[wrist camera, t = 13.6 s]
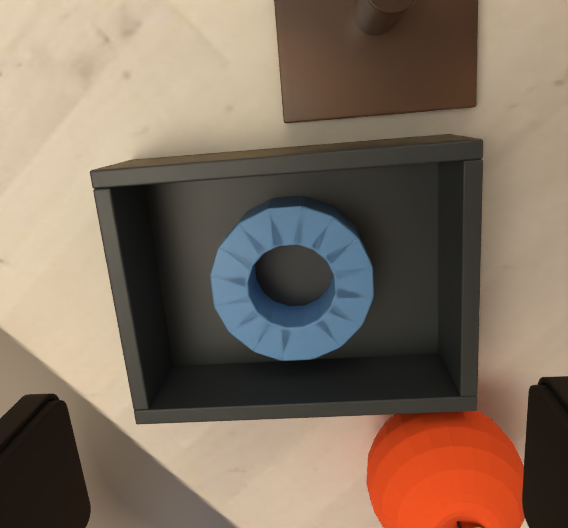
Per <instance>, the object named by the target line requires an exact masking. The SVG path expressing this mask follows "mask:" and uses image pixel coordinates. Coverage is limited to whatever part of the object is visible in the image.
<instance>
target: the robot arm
mask: <svg viewBox="0 0 568 528" xmlns="http://www.w3.org/2000/svg"><path fill="white" fill-rule="evenodd" d="M522 507H523V512H524V516H525V519H526V522H527V524H528V526H529V528H568V376H564V377H542V378H541V379H540V380H539V382H538V385H532V386H530V389H529V396H528V412H527V427H526V443H525V458H524V474H523V490H522ZM90 509H91V508H90V501H89V497H88V492H87V488H86V484H85V480H84V475H83V472H82V467H81V463H80V459H79V454H78V450H77V446H76V442H75V437H74V433H73V429H72V425H71V420H70V416H69V412H68V408H67V405H66V403H65V402H64V401H62V400H59V398H58V397H57V395H55V394H29V395H25V396H23V397H22V398H21V399H20V400H19V401H18V402H17V403H16V404H15V405H14V406H13V407H12V408H11V409H10V410H9V411H8V412H7V413H6V414H5V415H3V416H2V417H1V419H0V528H85V527H86V526H87V524H88V521H89V518H90V512H91V511H90Z"/></svg>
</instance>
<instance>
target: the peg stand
mask: <svg viewBox="0 0 568 528" xmlns="http://www.w3.org/2000/svg"><path fill="white" fill-rule="evenodd" d="M274 4H275V16H276V29H277V41H278V54H279V67H280V79H281V92H282V104H283V117H284V123H293V122H305V121H317V120H328V119H340V118H352V117H364V116H376V115H388V114H399V113H411V112H423V111H435V110H447V109H458V108H470V107H476V84H477V33H478V0H274Z"/></svg>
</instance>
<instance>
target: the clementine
mask: <svg viewBox="0 0 568 528" xmlns="http://www.w3.org/2000/svg"><path fill="white" fill-rule="evenodd" d="M523 474H524V466H523V464H522V461H521V458H520V456H519V454H518V452H517V450H516V448H515V446H514V444H513V442H512V441H511V440H510V439H509V438H508V437H507V435H506V434H505V433H504V432H503V431H502V430H501V429H500V428H499V427H498V426H497V425H496V424H495V422H494V421H493V420H492V419H490V418H489V417H487V416H485V415H484V414H482V413H480V412H479V411H462V412H436V413H411V414H395V415H394V416H392V417H391V418H390V419H389V420H388V421H387V422H386V423H385V425H384V426H383V427H382V428H381V430H380V431H379V433H378V434H377V436H376V438H375V440H374V442H373V444H372V447H371V449H370V452H369V455H368V467H367V487H368V491H369V496H370V500H371V503H372V506H373V509H374V512H375V514H376V516H377V517H378V519H379V521H380V522H381V524H382V526H383V527H384V528H520V527H521V525H522V523H523V521H524V519H525V516H524V512H523V507H522V490H523Z"/></svg>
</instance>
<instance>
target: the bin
mask: <svg viewBox="0 0 568 528" xmlns="http://www.w3.org/2000/svg"><path fill="white" fill-rule="evenodd" d="M482 158H483V140H482V139H476V138H470V137H464V136H458V135H453V134H446V135H433V136H421V137H408V138H396V139H384V140H371V141H359V142H347V143H334V144H322V145H309V146H297V147H285V148H272V149H260V150H248V151H235V152H223V153H211V154H198V155H186V156H173V157H161V158H149V159H136V160H129V161H125V162H121V163H118V164H114V165H110V166H106V167H102V168H98V169H95V170H91V171H90V176H91V181H92V186H93V188H94V191H93V192H94V197H95V203H96V208H97V214H98V219H99V224H100V230H101V235H102V241H103V246H104V251H105V257H106V262H107V268H108V273H109V278H110V284H111V289H112V295H113V300H114V305H115V311H116V316H117V322H118V327H119V333H120V338H121V343H122V349H123V354H124V360H125V365H126V370H127V376H128V381H129V387H130V392H131V397H132V403H133V408H134V415H135V420H136V424H156V423H182V422H207V421H232V420H258V419H283V418H309V417H334V416H360V415H385V414H411V413H436V412H462V411H477V388H478V346H479V304H480V262H481V221H482V179H483V160H482ZM294 196H303V197H308V198H311V199H314V200H317V201H320V202H323V203H326V204H329V205H331V206H333V207H334V208H336V209H337V210H338V211H339V212H340V213H341V214H342V215H344V216H345V217H346V218H347V219H348V220H349V221H351V222H352V223H353V225H354V226H355V227H356V229H357V231H358V233H359V235H360V237H361V239H362V241H363V244H364V246H365V248H366V250H367V252H368V255H369V258H370V261H371V263H372V267H373V285H374V297H373V301H372V303H371V306H370V308H369V311H368V313H367V316H366V318H365V321H364V323H363V325H362V326H361V328H360V329H359V330H358V331H357V332H356V333H355V334H354V335H353V336H352V337H351V338H350V339H349V340H348V341H347V342H346V343H345V344H344V345H343V346H340V348H338V349H336V350H333V351H331V352H329V353H326V354H324V355H322V356H319V357H317V358H315V359H311V360H290V361H283V360H282V361H281V360H278V359H274V358H271V357H268V356H265V355H262V354H259V353H256V352H254V351H252V350H251V349H249V348H248V347H247V346H246V345H244V344H243V343H242V342H241V341H239V340H238V339H237V338H235V337H234V336H233V335H232V334H231V333H230V332H228V330H227V328H226V327H225V325H224V323H223V321H222V320H221V318H220V316H219V314H218V313H217V311H216V309H215V307H214V303H213V295H212V288H211V280H210V278H211V277H210V274H211V271H212V267H213V264H214V260H215V257H216V254H217V250H218V248H219V246H220V244H221V243H222V242H223V240H224V239H225V237H226V236H227V235H228V233H229V232H230V231H231V229H232V228H233V227H234V226H235V225H236V224H237V222H238V221H239V220H240V219H241V218H242V216H243V215H244V214H245V213H246V212H247V211H248V210H250V209H252V208H254V207H256V206H258V205H260V204H262V203H264V202H266V201H268V200H270V199H273V198H280V197H294ZM255 272H256V280H257V281H258V283H259V285H260V287H261V289H262V291H263V292H264V293H265V294H266V295H267V296H268V297H270V298H271V299H272V300H273V301H275V302H278V303H281V304H284V305H287V306H304V305H307V304H309V303H311V302H313V301H315V300H318V299H319V298H320V297H321V295H322V294H323V293H324V292H325V291H326V290H327V289H328V287H329V285H330V282H331V279H332V276H333V273H332V271H331V269H330V267H329V265H328V263H327V261H326V260H325V259H324V258H322V257H321V256H320V255H319V254H318V253H316V252H315V251H314V250H312V249H309V248H306V247H303V246H300V245H285V246H278V247H276V248H274V249H272V250H270V251H268V252H266V253H264V254H263V255H262V256H261V257H260V259H259V260H258V261H257V262H256V263H255Z"/></svg>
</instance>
